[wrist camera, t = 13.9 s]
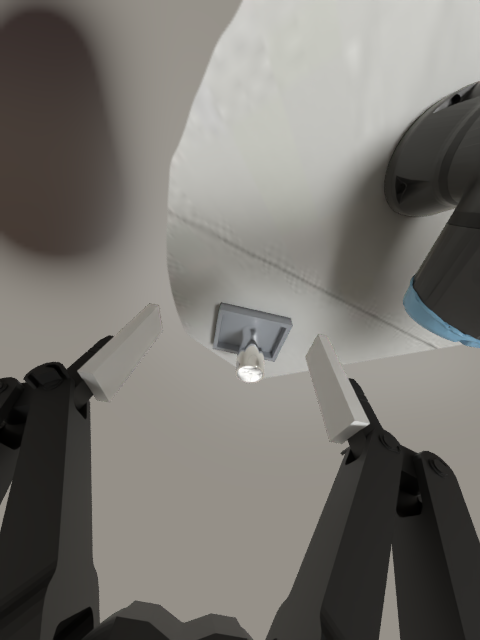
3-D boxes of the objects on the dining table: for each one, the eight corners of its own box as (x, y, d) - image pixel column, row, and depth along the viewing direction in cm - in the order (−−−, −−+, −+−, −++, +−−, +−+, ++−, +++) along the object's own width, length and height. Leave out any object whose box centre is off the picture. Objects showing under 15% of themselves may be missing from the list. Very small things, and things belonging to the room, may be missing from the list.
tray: (290, 318, 48) (292, 325, 45) (273, 353, 57) (274, 361, 54) (221, 302, 47) (219, 309, 44) (214, 341, 55) (212, 348, 53)
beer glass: (263, 340, 52) (265, 383, 40) (241, 341, 53) (237, 383, 41) (262, 322, 48) (264, 364, 36) (238, 324, 49) (232, 365, 37)
